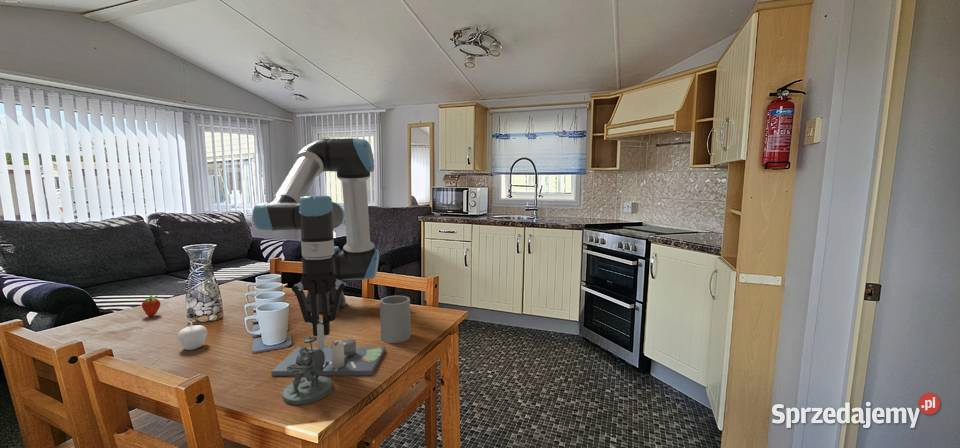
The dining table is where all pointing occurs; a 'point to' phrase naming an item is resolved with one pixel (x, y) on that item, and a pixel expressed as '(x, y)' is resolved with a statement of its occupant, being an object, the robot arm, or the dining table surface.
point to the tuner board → (354, 365)
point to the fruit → (151, 305)
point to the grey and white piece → (342, 351)
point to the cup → (395, 319)
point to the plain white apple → (192, 336)
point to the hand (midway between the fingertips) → (322, 347)
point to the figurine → (307, 377)
